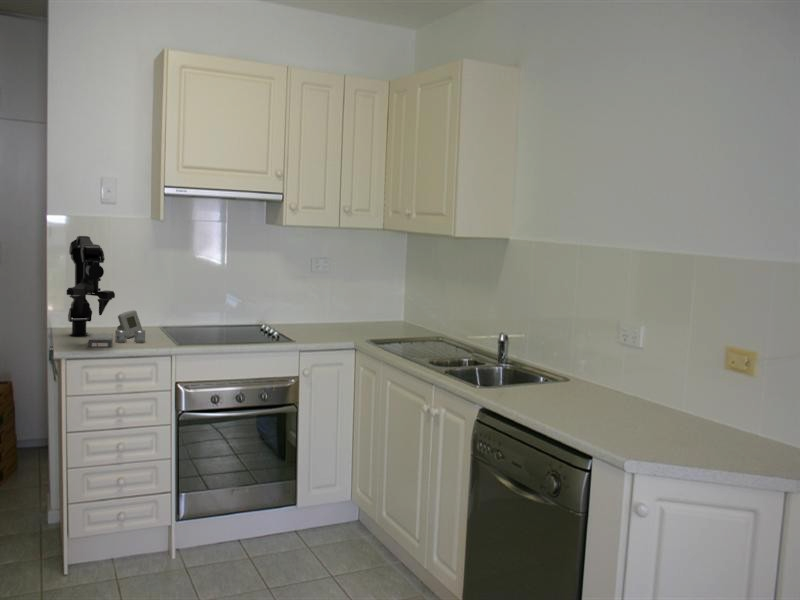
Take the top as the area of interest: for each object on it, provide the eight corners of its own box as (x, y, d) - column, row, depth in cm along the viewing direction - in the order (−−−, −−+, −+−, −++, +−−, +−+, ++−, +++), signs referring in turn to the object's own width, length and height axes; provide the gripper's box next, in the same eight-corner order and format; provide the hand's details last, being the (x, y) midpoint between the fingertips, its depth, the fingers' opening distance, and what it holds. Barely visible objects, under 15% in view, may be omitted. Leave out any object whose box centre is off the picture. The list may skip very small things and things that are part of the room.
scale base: (89, 342, 308) (89, 337, 307) (112, 342, 311) (112, 337, 310) (87, 347, 298) (87, 342, 298) (111, 347, 301) (111, 342, 301)
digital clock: (127, 339, 321) (128, 315, 319) (109, 337, 323) (109, 313, 321) (148, 334, 336) (149, 311, 335) (131, 332, 338) (132, 309, 337)
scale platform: (89, 335, 307) (89, 333, 307) (112, 335, 310) (112, 333, 310) (87, 339, 298) (87, 337, 298) (111, 339, 301) (111, 337, 301)
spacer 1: (115, 341, 314) (115, 329, 314) (126, 341, 316) (126, 329, 315) (115, 343, 310) (115, 331, 310) (126, 343, 312) (126, 331, 311)
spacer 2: (134, 341, 317) (134, 329, 316) (145, 341, 318) (145, 329, 318) (134, 343, 313) (134, 331, 312) (145, 343, 314) (145, 331, 314)
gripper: (57, 275, 293) (56, 314, 295) (98, 279, 288) (98, 319, 290) (75, 273, 303) (75, 310, 305) (116, 277, 299) (115, 315, 301)
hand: (90, 314), depth 300 cm, fingers open, 9 cm apart
